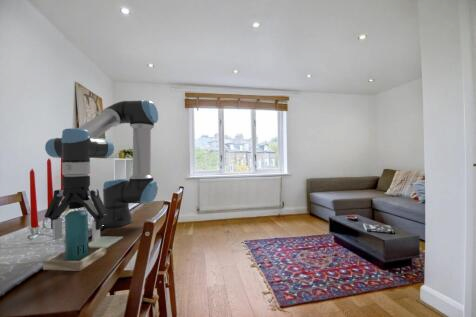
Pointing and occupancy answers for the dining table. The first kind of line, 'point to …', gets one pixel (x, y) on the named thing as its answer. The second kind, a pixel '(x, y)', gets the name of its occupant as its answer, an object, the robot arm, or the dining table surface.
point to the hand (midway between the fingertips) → (76, 239)
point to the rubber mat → (104, 241)
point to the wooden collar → (59, 264)
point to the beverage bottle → (76, 233)
